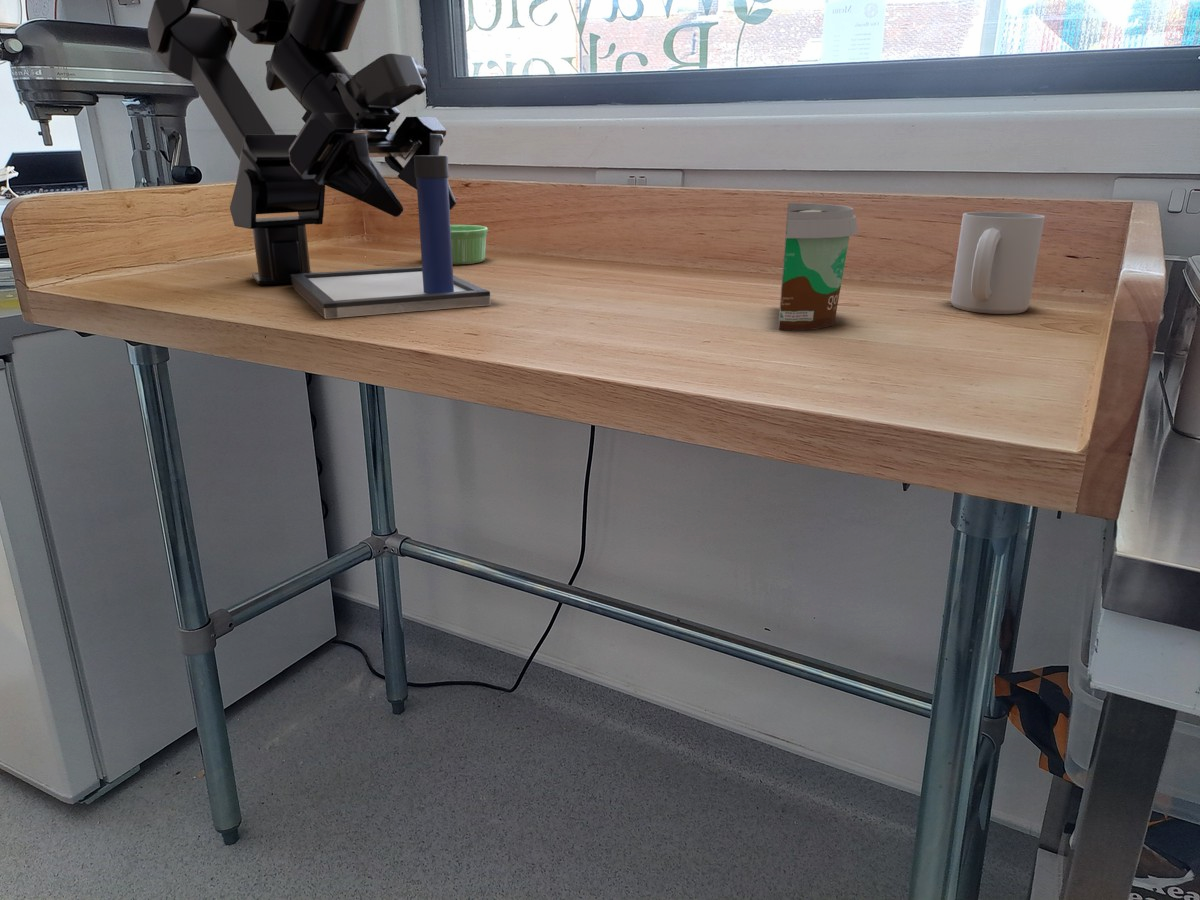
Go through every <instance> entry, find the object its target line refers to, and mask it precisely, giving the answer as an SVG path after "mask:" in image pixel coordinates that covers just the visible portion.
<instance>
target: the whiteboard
mask: <svg viewBox="0 0 1200 900" xmlns="http://www.w3.org/2000/svg"><path fill="white" fill-rule="evenodd" d="M291 281H292V283H291V287H292V288H293V289H294V290H295V292H297V294H299V295H300V296H301V297H302V298H303V299H304V300H305V301H306V302H307V303H308V304H309V305H311V307H312V308H314V310H315V311H316V312H318V314H320V315H321V316H322V317H323V318H324V319H325V320H326V319H327V320H329V319H339V318H350V317H364V316H378V315H388V314H389V315H390V314H400V313H411V312H412V313H413V312H423V311H437V310H449V309H461V308H472V307H474V308H475V307H486V306H491V304H492V303H491V291H490V290H487V289H485V288H483V287H481V286H478V285H476V284H474V283H472V282H470V281H467V280H465V279H463V278H460V277H458V276H456V275H454V274H453V284H454V292H446V293H432V294H427V293H424V289H423V273H422V265H421V266H420V265H419V266H406V267H390V268H370V269H356V270H355V269H353V270H339V271H338V270H337V271H319V272H313V273H302V274H291Z"/></svg>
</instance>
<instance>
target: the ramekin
mask: <svg viewBox="0 0 1200 900" xmlns="http://www.w3.org/2000/svg"><path fill="white" fill-rule="evenodd" d="M450 227H451V246H452V265H453V266H457V265H458V266H459V265H472V264H478V263H482V262H483V261H485V259H486V251H487V250H486V249H487V247H486V246H487V236H488V235H487V234H488V231H489V229H488V227H487V226H484V225H477V224H476V225H475V224H474V225H473V224H450Z"/></svg>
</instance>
